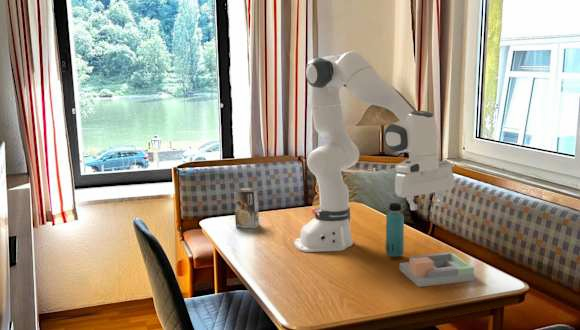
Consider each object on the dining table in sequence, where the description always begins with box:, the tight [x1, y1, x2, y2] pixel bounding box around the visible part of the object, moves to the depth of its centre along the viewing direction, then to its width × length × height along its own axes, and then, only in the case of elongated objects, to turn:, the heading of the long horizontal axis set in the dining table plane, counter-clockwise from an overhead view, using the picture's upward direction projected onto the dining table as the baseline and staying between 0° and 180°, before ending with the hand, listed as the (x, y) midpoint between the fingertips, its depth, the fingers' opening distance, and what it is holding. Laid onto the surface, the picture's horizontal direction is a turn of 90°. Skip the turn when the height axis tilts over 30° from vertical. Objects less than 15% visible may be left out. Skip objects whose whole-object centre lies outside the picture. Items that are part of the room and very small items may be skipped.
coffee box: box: [233, 187, 260, 229], centre depth 251 cm, size 9×6×16 cm
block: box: [409, 257, 434, 277], centre depth 190 cm, size 6×5×4 cm
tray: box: [399, 252, 475, 288], centre depth 194 cm, size 19×15×4 cm
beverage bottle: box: [385, 202, 405, 257], centre depth 210 cm, size 6×7×20 cm
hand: (426, 207), depth 184 cm, fingers open, 8 cm apart
